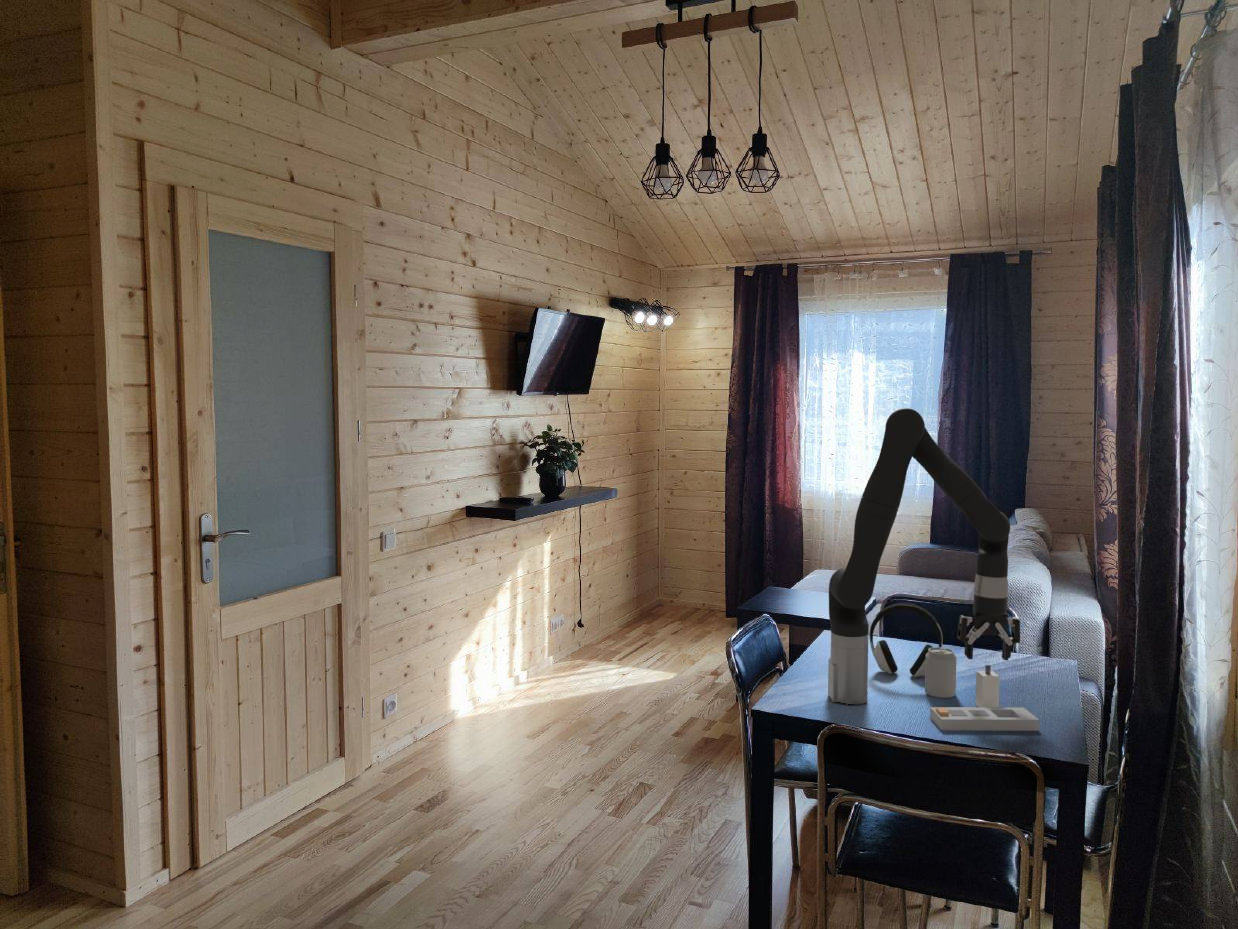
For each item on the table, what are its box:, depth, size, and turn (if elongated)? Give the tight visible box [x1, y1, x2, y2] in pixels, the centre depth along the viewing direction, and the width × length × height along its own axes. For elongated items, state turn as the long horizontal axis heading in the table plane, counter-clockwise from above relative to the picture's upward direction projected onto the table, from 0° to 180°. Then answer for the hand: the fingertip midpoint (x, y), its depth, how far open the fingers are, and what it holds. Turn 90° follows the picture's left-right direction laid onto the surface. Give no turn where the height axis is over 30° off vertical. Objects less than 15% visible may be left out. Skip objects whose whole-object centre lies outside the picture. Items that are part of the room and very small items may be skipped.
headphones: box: [868, 602, 944, 678], centre depth 246 cm, size 19×8×20 cm, turn 68°
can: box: [924, 646, 957, 699], centre depth 229 cm, size 8×8×12 cm
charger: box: [975, 664, 1000, 707], centre depth 219 cm, size 4×4×11 cm
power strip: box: [929, 706, 1040, 732], centre depth 209 cm, size 22×8×4 cm, turn 89°
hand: (987, 659), depth 218 cm, fingers open, 8 cm apart
